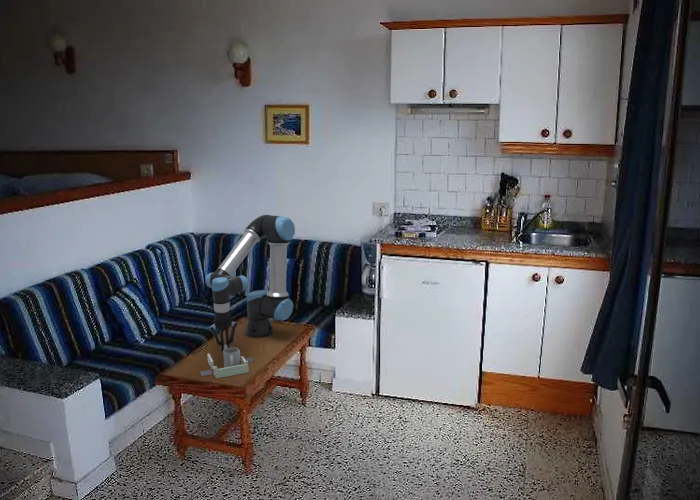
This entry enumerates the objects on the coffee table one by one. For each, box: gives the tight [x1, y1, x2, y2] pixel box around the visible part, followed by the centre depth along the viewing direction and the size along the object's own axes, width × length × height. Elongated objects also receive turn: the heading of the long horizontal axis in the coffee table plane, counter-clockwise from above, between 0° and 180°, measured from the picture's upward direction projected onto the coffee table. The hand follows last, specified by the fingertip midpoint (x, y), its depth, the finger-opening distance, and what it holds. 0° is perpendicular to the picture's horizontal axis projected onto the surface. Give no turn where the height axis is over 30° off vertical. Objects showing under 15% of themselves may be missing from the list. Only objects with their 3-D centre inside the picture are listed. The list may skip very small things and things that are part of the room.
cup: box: [222, 346, 241, 368], centre depth 273 cm, size 7×10×9 cm
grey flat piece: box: [199, 350, 255, 379], centre depth 276 cm, size 26×20×5 cm
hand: (225, 357), depth 282 cm, fingers closed
